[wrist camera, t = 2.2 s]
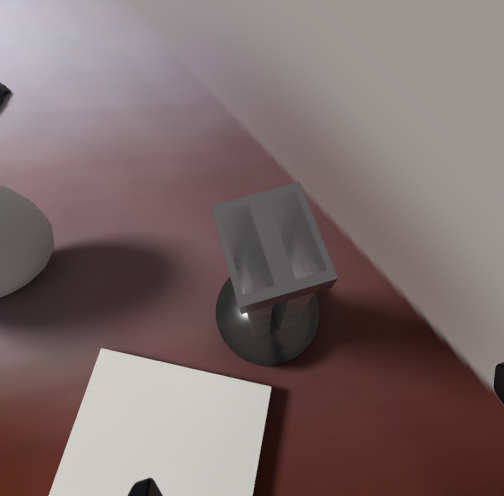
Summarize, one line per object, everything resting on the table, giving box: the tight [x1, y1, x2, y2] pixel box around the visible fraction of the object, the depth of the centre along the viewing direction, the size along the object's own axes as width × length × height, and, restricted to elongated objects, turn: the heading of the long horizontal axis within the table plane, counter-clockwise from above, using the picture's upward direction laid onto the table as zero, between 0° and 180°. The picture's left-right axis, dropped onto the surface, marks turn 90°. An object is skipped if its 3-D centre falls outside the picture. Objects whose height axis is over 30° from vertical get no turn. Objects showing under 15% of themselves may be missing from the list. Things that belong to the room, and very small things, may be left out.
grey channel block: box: [211, 182, 338, 366], centre depth 15 cm, size 6×6×12 cm
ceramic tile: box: [49, 348, 271, 496], centre depth 18 cm, size 10×10×1 cm
